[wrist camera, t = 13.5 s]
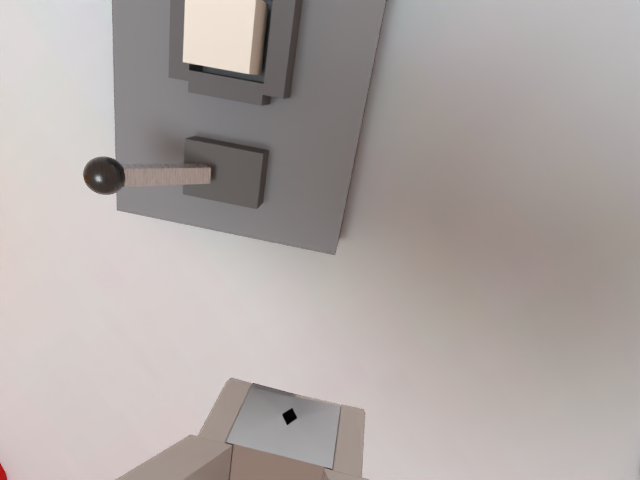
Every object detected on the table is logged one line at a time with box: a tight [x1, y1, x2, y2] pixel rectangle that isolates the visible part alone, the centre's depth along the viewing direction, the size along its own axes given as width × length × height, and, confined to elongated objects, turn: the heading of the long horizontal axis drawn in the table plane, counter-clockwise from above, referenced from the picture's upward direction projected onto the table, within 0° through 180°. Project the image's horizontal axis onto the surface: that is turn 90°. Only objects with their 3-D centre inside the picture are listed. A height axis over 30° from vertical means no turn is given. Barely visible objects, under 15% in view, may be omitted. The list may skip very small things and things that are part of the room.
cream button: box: [183, 0, 268, 75], centre depth 22 cm, size 4×4×2 cm
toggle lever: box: [83, 157, 211, 195], centre depth 23 cm, size 2×2×7 cm
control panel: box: [112, 0, 386, 255], centre depth 24 cm, size 16×25×5 cm, turn 170°
